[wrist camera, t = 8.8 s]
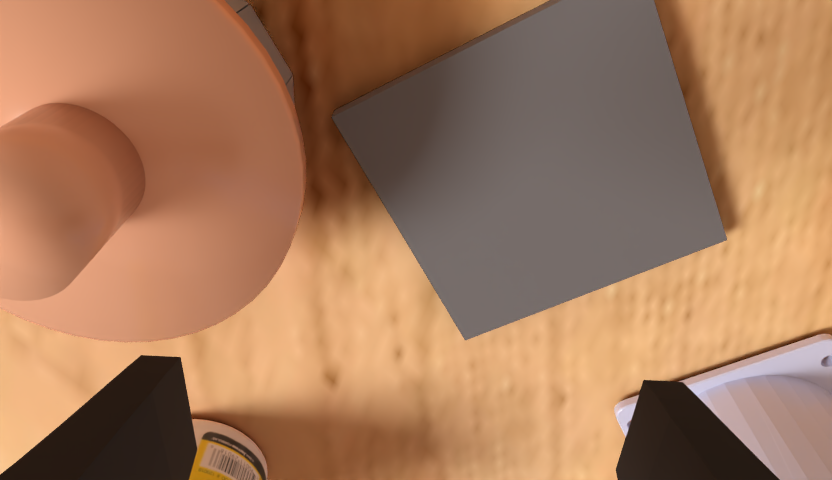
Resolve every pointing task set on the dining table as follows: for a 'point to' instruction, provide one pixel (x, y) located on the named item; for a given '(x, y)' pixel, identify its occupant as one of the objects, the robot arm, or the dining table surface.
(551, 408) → the dining table surface
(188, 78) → the lid
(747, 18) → the dining table surface
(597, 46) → the mat
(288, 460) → the dining table surface
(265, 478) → the supplement bottle
